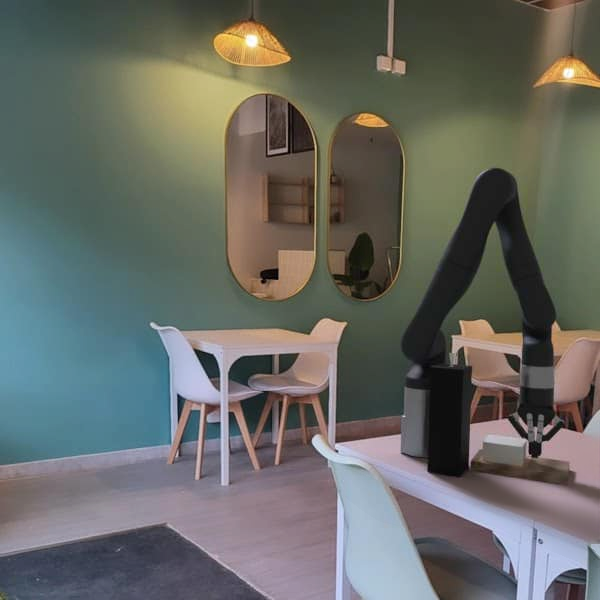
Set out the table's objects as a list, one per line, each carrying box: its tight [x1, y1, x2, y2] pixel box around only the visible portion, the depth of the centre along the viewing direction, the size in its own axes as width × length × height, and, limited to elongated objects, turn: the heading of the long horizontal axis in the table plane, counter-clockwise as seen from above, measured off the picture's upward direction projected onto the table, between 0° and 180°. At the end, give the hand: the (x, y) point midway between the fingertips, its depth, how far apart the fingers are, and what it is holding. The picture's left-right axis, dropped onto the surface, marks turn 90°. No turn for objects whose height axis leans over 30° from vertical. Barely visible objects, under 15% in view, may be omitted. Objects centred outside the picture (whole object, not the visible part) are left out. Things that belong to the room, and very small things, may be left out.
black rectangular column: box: [426, 352, 473, 478], centre depth 140 cm, size 8×8×28 cm
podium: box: [470, 448, 570, 486], centre depth 142 cm, size 21×12×2 cm, turn 63°
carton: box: [482, 434, 528, 466], centre depth 144 cm, size 9×8×4 cm
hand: (535, 457), depth 141 cm, fingers closed
